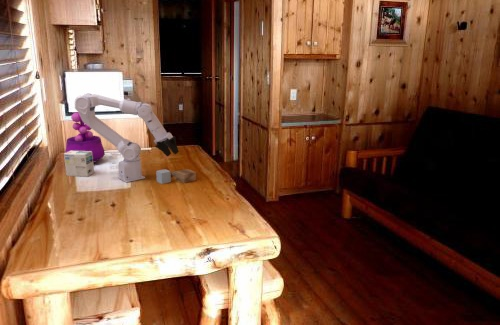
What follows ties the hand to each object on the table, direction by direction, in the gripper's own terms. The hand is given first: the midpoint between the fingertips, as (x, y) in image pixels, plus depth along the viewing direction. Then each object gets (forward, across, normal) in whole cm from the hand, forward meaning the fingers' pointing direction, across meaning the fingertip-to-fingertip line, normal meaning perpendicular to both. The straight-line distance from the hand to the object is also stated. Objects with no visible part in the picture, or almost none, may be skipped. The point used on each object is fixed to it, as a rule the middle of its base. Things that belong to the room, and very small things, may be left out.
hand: (173, 154), depth 181 cm
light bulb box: (-12, +33, +30) cm, 46 cm away
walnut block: (+13, -1, +2) cm, 13 cm away
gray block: (+8, +2, +10) cm, 13 cm away
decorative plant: (-14, +51, +19) cm, 57 cm away
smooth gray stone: (+11, +8, 0) cm, 13 cm away
